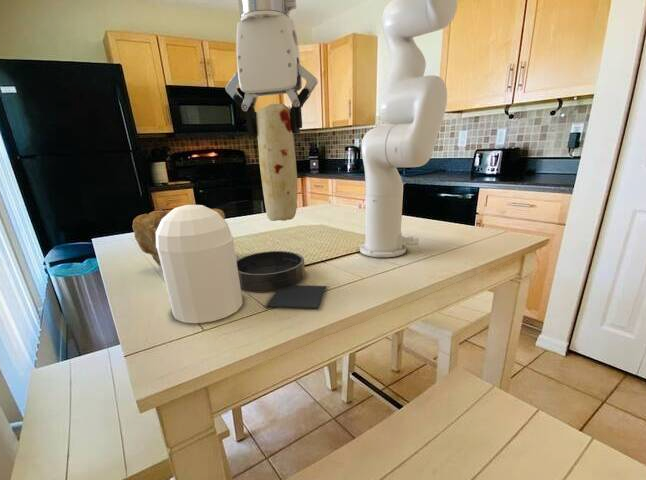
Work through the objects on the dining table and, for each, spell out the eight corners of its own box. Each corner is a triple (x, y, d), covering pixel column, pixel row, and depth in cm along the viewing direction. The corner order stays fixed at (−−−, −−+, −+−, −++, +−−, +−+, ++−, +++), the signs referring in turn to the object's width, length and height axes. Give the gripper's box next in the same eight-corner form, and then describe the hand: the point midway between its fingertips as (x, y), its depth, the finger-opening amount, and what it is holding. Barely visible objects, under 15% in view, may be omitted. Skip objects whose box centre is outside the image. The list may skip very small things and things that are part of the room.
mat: (325, 287, 72) (325, 285, 72) (317, 309, 63) (317, 307, 63) (280, 286, 74) (280, 285, 73) (266, 307, 65) (266, 305, 64)
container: (173, 330, 58) (144, 215, 51) (171, 300, 70) (148, 203, 62) (249, 312, 63) (233, 205, 55) (236, 287, 74) (221, 195, 67)
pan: (310, 266, 85) (309, 251, 83) (295, 293, 70) (294, 275, 68) (249, 265, 88) (247, 250, 86) (222, 291, 73) (219, 274, 72)
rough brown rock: (139, 291, 78) (123, 228, 71) (143, 264, 92) (130, 210, 85) (239, 275, 86) (233, 218, 79) (229, 253, 99) (223, 202, 93)
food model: (305, 222, 62) (297, 99, 54) (268, 225, 60) (255, 100, 53) (295, 212, 70) (287, 105, 63) (263, 215, 69) (251, 107, 62)
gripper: (322, 12, 54) (326, 131, 61) (223, 26, 58) (238, 137, 65) (312, -6, 48) (319, 131, 54) (201, 11, 51) (220, 138, 58)
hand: (275, 133), depth 60 cm, fingers closed on food model, 7 cm apart
